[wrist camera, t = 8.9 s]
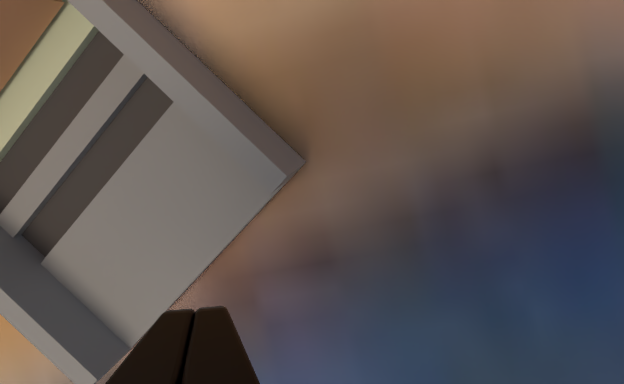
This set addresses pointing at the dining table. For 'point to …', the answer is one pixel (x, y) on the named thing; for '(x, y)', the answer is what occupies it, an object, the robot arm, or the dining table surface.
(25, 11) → the terracotta block
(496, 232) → the dining table surface
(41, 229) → the gray open tray
